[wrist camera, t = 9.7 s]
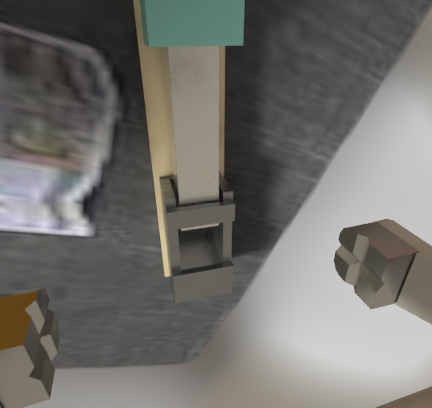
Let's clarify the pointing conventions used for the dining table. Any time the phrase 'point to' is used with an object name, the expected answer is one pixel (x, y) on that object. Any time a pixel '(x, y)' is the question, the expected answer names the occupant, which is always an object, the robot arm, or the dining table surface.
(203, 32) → the teal cube
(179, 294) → the sleeve
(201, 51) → the slip tube
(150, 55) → the board
